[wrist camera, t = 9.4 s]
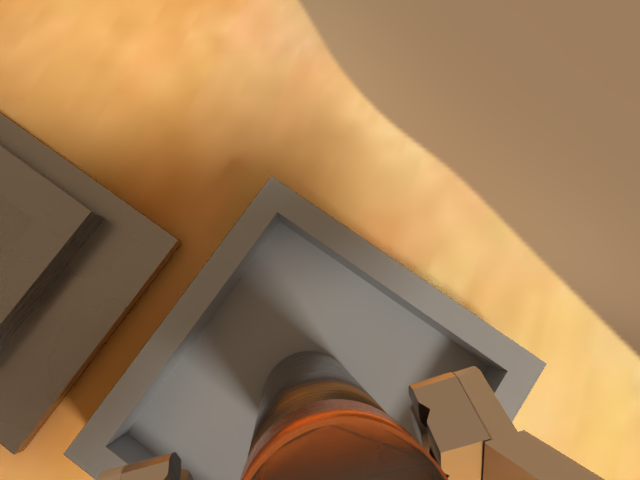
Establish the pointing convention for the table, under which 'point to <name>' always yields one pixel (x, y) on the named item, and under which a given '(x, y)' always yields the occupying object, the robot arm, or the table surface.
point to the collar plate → (61, 276)
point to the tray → (287, 341)
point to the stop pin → (329, 429)
